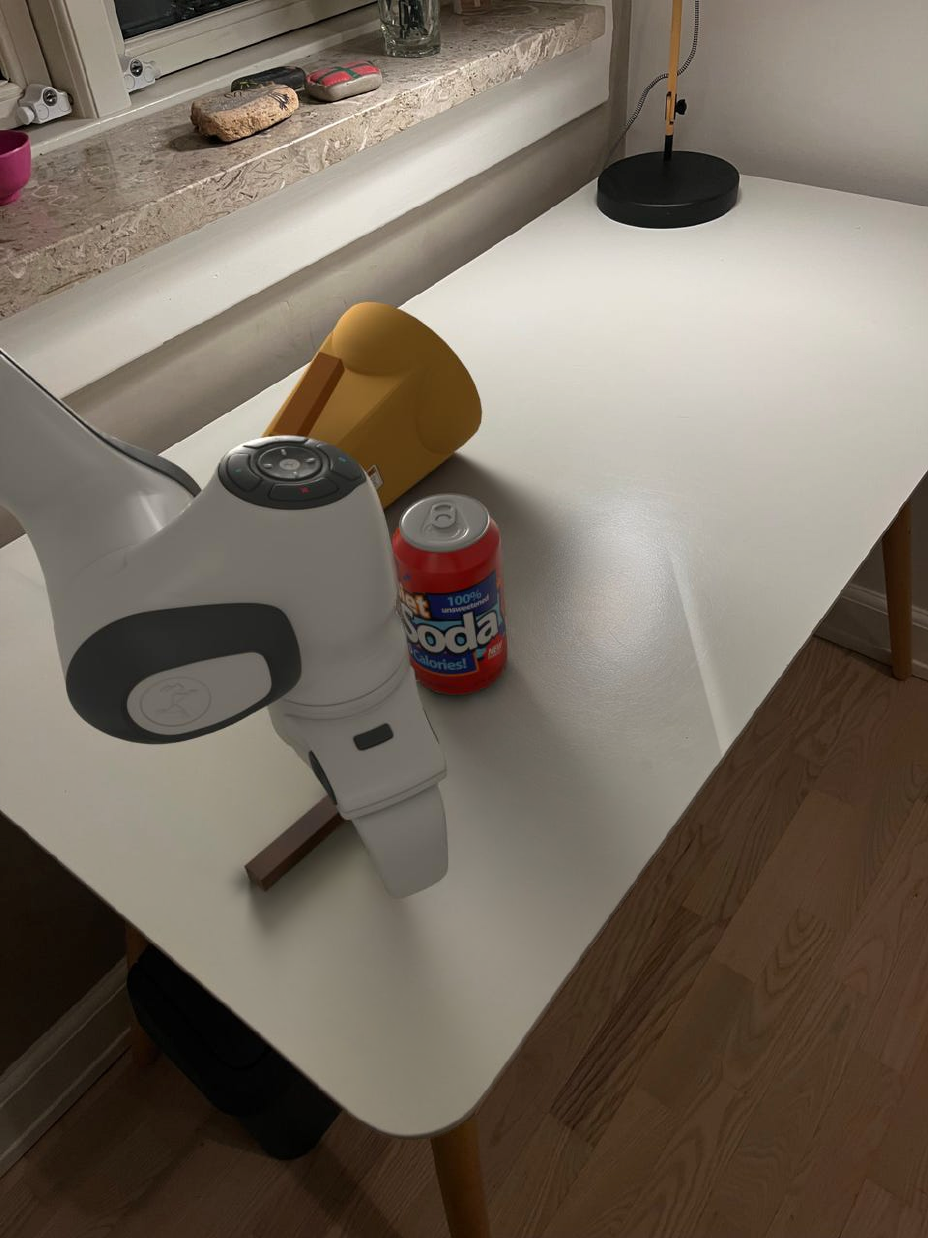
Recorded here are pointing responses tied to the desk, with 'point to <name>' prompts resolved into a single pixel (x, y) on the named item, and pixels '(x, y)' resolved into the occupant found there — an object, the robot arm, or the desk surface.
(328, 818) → the wooden mallet
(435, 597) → the soda can
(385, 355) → the flared yellow plastic housing
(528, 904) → the desk surface
